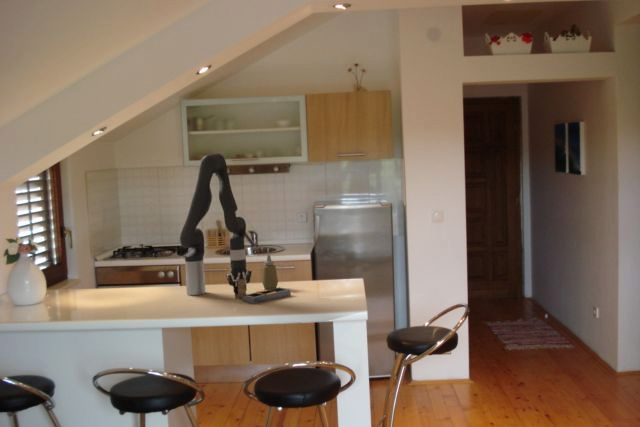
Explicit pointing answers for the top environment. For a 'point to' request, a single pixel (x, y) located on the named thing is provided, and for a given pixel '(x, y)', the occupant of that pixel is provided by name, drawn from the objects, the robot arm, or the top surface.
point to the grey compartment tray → (266, 295)
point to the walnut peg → (241, 289)
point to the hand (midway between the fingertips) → (240, 292)
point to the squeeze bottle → (269, 274)
